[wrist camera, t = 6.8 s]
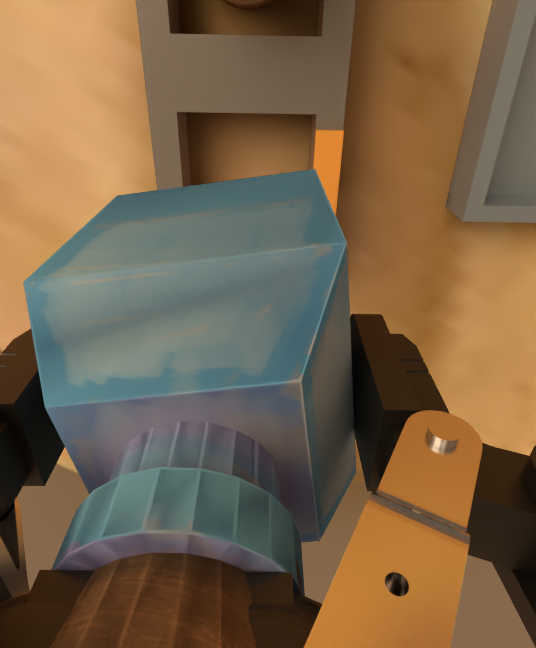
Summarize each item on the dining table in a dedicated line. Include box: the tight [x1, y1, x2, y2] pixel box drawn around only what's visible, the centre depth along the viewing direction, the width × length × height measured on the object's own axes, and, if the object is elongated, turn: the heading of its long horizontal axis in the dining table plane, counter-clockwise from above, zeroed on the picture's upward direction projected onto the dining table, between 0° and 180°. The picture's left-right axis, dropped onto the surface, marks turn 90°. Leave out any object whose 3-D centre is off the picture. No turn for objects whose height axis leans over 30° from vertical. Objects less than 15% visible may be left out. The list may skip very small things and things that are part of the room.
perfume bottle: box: [23, 169, 356, 648], centre depth 10 cm, size 6×6×12 cm
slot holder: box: [136, 0, 356, 216], centre depth 24 cm, size 22×10×3 cm, turn 179°
